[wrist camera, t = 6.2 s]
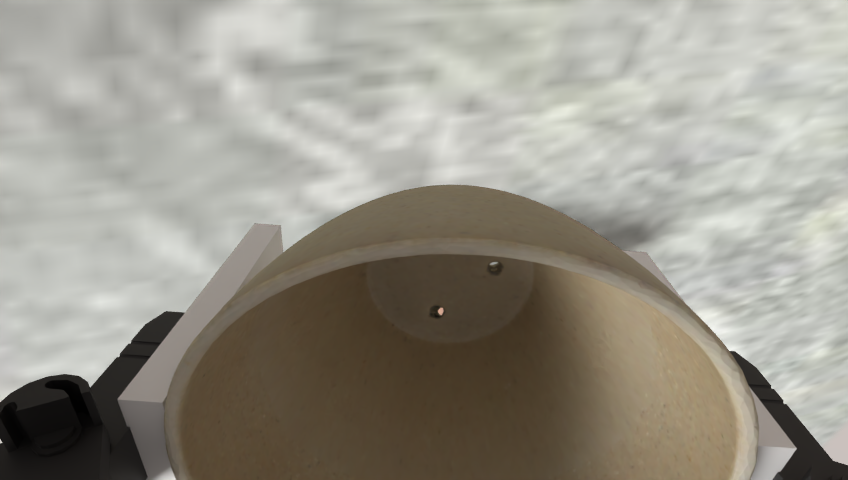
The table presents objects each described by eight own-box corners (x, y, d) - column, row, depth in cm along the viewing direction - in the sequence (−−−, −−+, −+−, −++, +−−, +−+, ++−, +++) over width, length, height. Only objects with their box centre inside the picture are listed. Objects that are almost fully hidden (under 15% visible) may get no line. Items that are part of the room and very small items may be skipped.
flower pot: (393, 24, 11) (330, 75, 5) (685, 233, 13) (899, 449, 7) (235, 302, 15) (91, 525, 9) (479, 423, 18) (501, 665, 11)
